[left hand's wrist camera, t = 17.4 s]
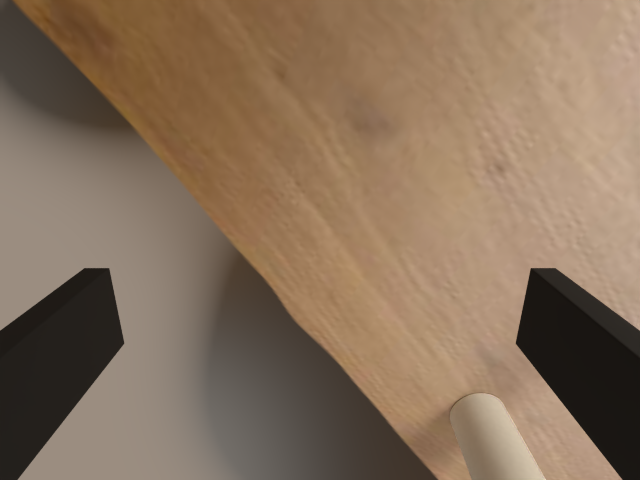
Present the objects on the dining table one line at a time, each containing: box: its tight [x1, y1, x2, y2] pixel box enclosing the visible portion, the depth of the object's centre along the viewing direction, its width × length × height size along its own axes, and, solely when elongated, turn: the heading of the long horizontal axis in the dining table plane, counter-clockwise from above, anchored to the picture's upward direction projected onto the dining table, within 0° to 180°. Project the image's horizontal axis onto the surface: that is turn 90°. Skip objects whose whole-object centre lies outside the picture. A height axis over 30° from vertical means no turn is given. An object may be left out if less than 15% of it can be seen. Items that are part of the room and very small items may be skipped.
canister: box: [450, 393, 546, 480], centre depth 33 cm, size 5×5×11 cm
